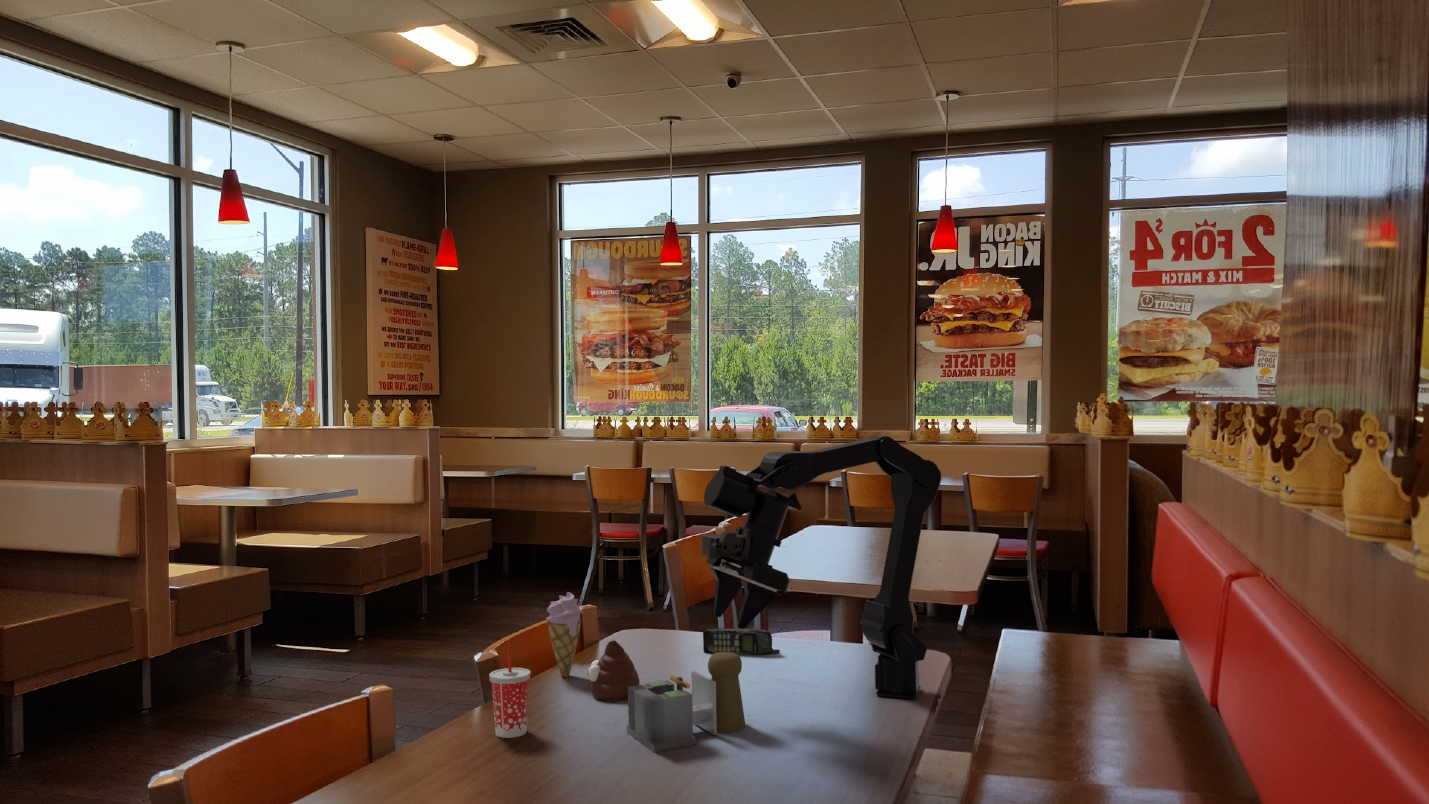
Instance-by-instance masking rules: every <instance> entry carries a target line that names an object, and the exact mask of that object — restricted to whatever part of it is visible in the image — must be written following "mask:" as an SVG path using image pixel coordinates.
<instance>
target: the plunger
mask: <svg viewBox="0 0 1429 804" xmlns="http://www.w3.org/2000/svg"><path fill="white" fill-rule="evenodd" d="M669 680H670V682H672V683H676V690H680V691H684V689H685V690H688V689H691V694H692V708H693V726H695V725H697V726H699V727H700V728H702V729H703V730H705V731H706V732H708V733H710V734H711V735H717V734H718V732H717V724H716V682H715V681H713V680H711V678H709V677H707V676H705V675H703V674H701V673H699V672H697V671H695V670H692V671H691V683H689V682H687V681H685V680H683V677H681V676H679V677H678V676H676V675H674V674H673V675H672V674H670V675H669Z"/></svg>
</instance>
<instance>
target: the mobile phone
mask: <svg viewBox="0 0 1429 804" xmlns="http://www.w3.org/2000/svg"><path fill="white" fill-rule="evenodd" d="M702 639H703V640H702V642H703V645H702V646H703V649H702V650H703V652H704V653H705V654H715V653H720V652H731V653H735V654H737V655H746V656H756V655H757V656H758V655H763V654H780V652H781V651H780V649H773V637H772V633H771V632H770V631H769V630H767V629H761V628H751V627H750V628H748V627H746V628H745V629H741V628H738V627H732V628H731V627H721V628H719V627H717V628H714V627H713V628H708V629H705V630H703V632H702Z"/></svg>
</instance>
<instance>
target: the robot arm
mask: <svg viewBox="0 0 1429 804" xmlns="http://www.w3.org/2000/svg"><path fill="white" fill-rule="evenodd" d="M871 463H875V464H876V465H877V466H878V468H879V469H880V470H881V472H883V473H884V474H885V475H886V476H888V477H889V478H890V494H891V498H892V501H893V506H894V514H893V517H892V518H893V519H892V524H891V530H890V535H889V541H888V545H887V551H886V556H885V557H886V558H885V561H884V567H883V572H882V579H881V584H880V589H879V592H878V594H876V596H875V598H873V601H871V600H869V599H866V600H865V601H864V605H863V614H862V617H861V619H860V621H859V623H860V624H862V633H863V635H864V637H865V639H866V640H867V641H868V642H869V643H870V645H871V649H872V652H874V653H877V654H879V655H878V656H877V662H876V663H875V665H874V688H875V690H877V691H875V692H876V693H875V695H876V696H878V697H889V698H898V699H899V698H900V699H910V700H915V699H916V698H917V697H918V695H919V693H920V691H921V688H922V686H921V685H920V683H919V682H920V681H919V677H920V676H919V661H924V660H925V657H926V653H927V650H928V647H927V646H926V645H925V644H924V643H923V642H922V641H921V640H920V639H919V638H918V637H917V636H916V635H915V634H914V613H913V611H912V610H913V609H912V607H911V603H910V602H911V601H910V594H911V593H910V592H911V587H912V583H913V576H914V572H915V571H914V570H915V566H916V565H915V564H916V560H917V555H918V554H917V553H918V549H919V543H920V538H921V533H922V526H923V521H924V516H925V513H926V512H927V511H928V509H929V508H930V507H931V505H932V504H933V503H934V501H935V500H936V498H937V494H938V491H939V487H940V485H941V482H942V471H941V470H940V468H939V466H938V465H937V464H936V463H935V462H934V461H932V460H929V459H924V458H923V457H921V456H920V455H919V454H917V453H916V452H914V451H912V450H910V449H908V448H906V447H904V446H903V445H901V444H899V442H897V441H896V440H895V439H893V438H892V437H891V436H888V435H872V436H869V437H868V438H864V439H860V440H855V441H850V442H846V443H842V444H838V445H837V444H836V445H833V446H828V447H824V448H820V449H814V450H805V451H803V450H802V451H801V450H800V451H799V450H798V451H797V450H795V451H792V450H791V451H786V450H785V451H771V452H768V453H766V454H765V455H763V458H762V459H761V461H760V464H759V465H758V466H756V467H755V468H753V469H752V470H750V471H749V472H747V473H746V474H744V473H741V472H739V471H736V470H735V469H733V468H732V467H730V466H728V465H722V464H721V465H720V466H719V469H718V472H716V473H714V475H713V476H712V477H711V479H710V481H709V482H708V483H707V485H706V487H705V490H704V495H703V503H704V504H705V506H707V507H710V508H712V509H714V510H718V511H720V512H721V513H722V512H723V513H725V514H728V515H731V516H732V517H734V518H742V516H743V515H744V514H745V515H746V518H745V521H744V523H743V526H741V525H737V527H736V528H735V530H734V532H732V531H729V532H725V531H723V532H721V533H718V534H717V533H716V534H715V533H712V534H702V535H701V556H707V561H706V564H708V565H710V566H709V567H708V569H709V571H710V572H711V574H712V576H713V578H714V580H715V594H714V595H715V596H714V607H713V608H714V611H713V615H714V617H717V618H721V617H722V616H723V614H724V613H725V612H726V610H728V608H729V606H730V605H731V604H732V603H733V600H734V599H735V598H736V596H737V595H738V593H739V592H740V590H742V588H743V591H744V594H743V598H742V603H741V606H740V607H741V608H740V610H739V615H738V620H737V625H736V626H737V627H736V628H741V629H745V628H747V627H748V625H750V623H752V621H753V620H755V618H756V617H757V616H758V615H759V614H760V613H761V612H762V611H763V610H764V609H765V608H766V607H768V605H770V604H771V603H772V602H773V601H774V600H775V599H776V598H777V597H780V596H781V593H779V592H777V591H780V592H782V593H785V594H786V593H787V591H788V588H789V586H790V582H791V581H790V578H789V575H788V573H786V572H784V571H781V570H779V569H775V568H773V567H774V566H773V565H771V564H769V563H770V560H771V558H772V555H773V553H774V550H775V547H777V548H780V547H781V544H782V540H780V539H778V538H779V534H780V532H781V530H782V526H783V524H784V521H785V518H786V515H787V512H788V509H790V510H791V509H792V510H796V511H801V510H802V509H803V507H802V505H801V503H800V502H799V500H798V497H797V493H794V492H787V493H782V492H780V491H777V490H775V489H776V488H777V489H782V490H783V489H785V490H795V489H797V488H800V487H802V486H803V485H804V486H805V485H806V484H809V483H811V482H812V481H814V480H815V479H817V478H818V477H819V476H822V475H825V474H829V473H833V472H835V471H840V470H845V469H849V468H853V467H854V468H855V467H858V466H862V465H867V464H871ZM758 488H765V489H769V490H767V491H766V492H763V491H761V490H758ZM711 566H713V567H711ZM738 576H741V577H743V578H745V579H743V578H741V577H738ZM746 579H748V580H750V581H747V580H746Z"/></svg>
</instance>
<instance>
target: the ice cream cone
mask: <svg viewBox="0 0 1429 804" xmlns="http://www.w3.org/2000/svg"><path fill="white" fill-rule="evenodd" d="M558 598H559V599H558V600H556V601H550V605H549V606H548V607H547V608H546V611H547V612H548V614H549V616H548V617H546V618H545V619H546V621H547V622H546V623H547V627H548V634H549V638H550V642H551V645H552V649H553V653H554V656H555V660H556V663H557V666H558V669H559V670H558V671H559V673H560V676H561V677H563V678H567V677H569V676H570V675H571V674H570V673H571V671H572V670H571V669H572V667H573V662H574V659H575V658H574V657H575V654H576V650H577V646H578V642H579V637H580V629H581V626H582V625H581V623H582V619H581V614H582V613H583V614H584V611H582V609H581V608H580V607H579V604H578V601H579V598H575V595H574V594H573V593H572V592H569V591H567V592H566V595H565V596H564V595H558Z"/></svg>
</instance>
